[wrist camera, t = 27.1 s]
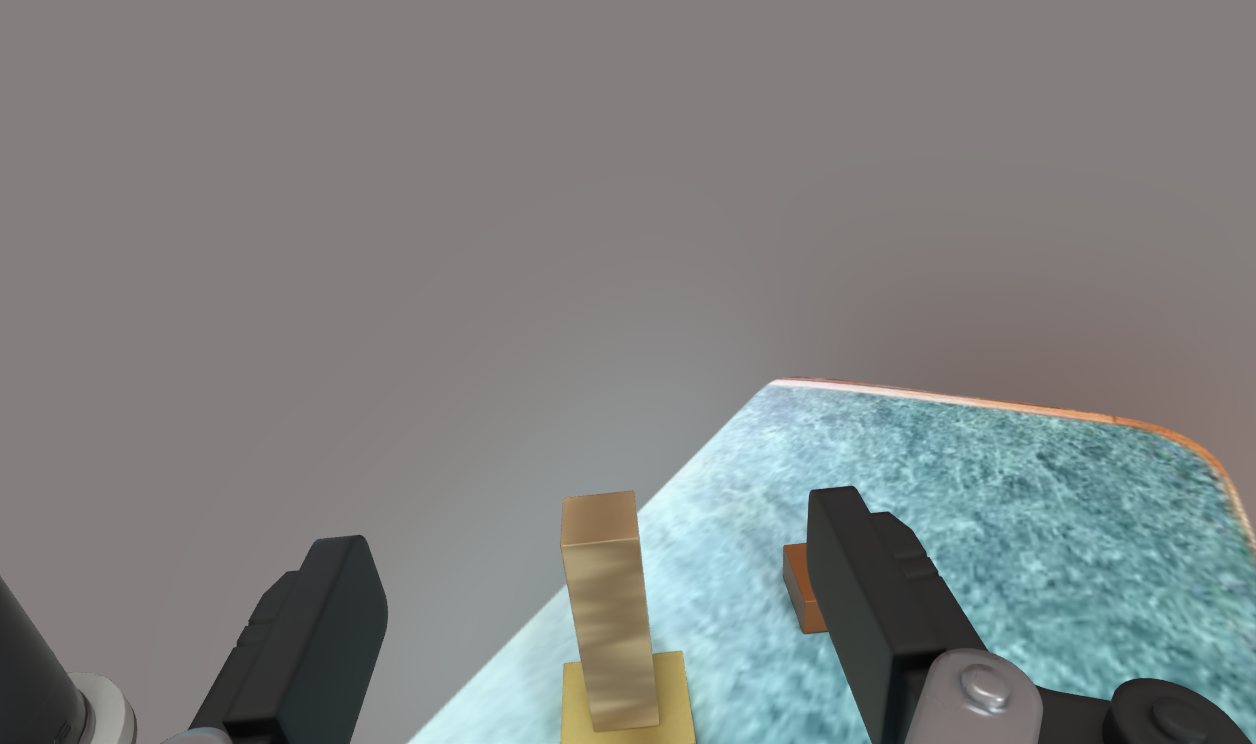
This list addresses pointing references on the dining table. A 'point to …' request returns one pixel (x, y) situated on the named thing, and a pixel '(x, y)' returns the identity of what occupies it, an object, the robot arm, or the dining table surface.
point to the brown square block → (801, 588)
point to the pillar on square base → (615, 634)
